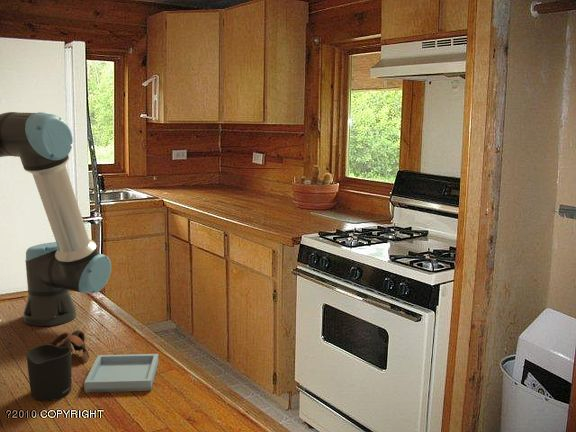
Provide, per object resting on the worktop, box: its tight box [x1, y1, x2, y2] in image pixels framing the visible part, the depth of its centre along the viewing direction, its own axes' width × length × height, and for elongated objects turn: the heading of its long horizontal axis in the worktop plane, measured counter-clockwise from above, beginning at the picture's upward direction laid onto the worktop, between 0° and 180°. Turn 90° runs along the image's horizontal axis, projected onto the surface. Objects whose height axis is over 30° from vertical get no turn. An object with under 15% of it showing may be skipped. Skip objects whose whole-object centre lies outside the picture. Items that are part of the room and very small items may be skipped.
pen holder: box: [26, 343, 73, 402], centre depth 137 cm, size 9×9×10 cm
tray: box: [83, 353, 159, 393], centre depth 146 cm, size 15×15×2 cm
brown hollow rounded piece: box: [49, 329, 90, 364], centre depth 155 cm, size 12×10×8 cm
